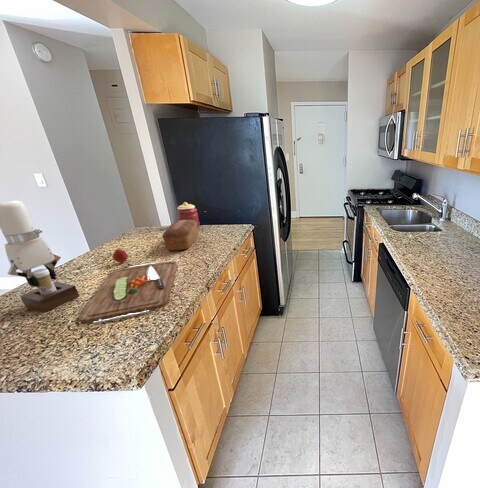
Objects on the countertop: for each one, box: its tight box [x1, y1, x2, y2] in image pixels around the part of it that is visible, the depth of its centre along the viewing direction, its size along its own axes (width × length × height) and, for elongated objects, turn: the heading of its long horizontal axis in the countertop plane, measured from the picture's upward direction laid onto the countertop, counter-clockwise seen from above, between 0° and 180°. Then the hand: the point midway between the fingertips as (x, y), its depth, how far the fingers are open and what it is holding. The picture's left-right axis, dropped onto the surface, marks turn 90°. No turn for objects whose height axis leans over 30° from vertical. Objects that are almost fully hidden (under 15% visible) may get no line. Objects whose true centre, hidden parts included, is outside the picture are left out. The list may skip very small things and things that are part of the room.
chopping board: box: [78, 260, 178, 325], centre depth 109 cm, size 45×27×3 cm, turn 22°
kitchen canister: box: [176, 201, 201, 228], centre depth 183 cm, size 13×13×18 cm
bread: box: [162, 219, 199, 251], centre depth 154 cm, size 14×28×12 cm, turn 12°
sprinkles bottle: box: [31, 268, 57, 296], centre depth 98 cm, size 5×5×14 cm
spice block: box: [19, 281, 80, 313], centre depth 99 cm, size 11×11×5 cm
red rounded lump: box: [112, 248, 129, 264], centre depth 130 cm, size 6×6×8 cm
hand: (44, 282), depth 97 cm, fingers closed on sprinkles bottle, 4 cm apart
